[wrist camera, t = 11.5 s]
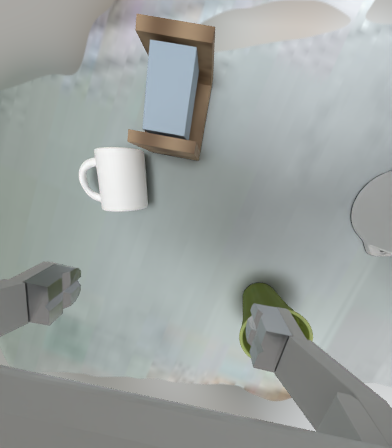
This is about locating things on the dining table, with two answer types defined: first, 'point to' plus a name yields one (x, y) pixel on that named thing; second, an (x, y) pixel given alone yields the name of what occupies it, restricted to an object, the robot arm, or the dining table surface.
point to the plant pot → (268, 297)
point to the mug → (117, 178)
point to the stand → (204, 42)
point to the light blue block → (170, 89)
